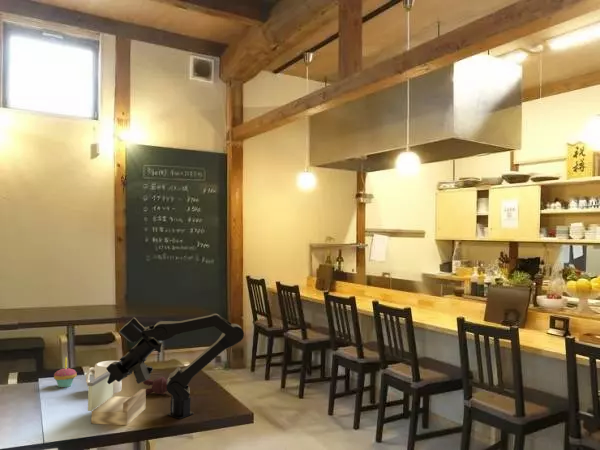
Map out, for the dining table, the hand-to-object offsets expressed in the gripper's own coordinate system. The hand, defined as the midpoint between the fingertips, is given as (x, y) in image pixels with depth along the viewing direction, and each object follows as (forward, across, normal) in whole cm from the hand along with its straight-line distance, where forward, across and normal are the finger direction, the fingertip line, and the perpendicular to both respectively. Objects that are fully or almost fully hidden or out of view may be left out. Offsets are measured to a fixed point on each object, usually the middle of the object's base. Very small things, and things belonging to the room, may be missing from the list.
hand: (108, 382), depth 172 cm
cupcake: (+31, +32, +15) cm, 46 cm away
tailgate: (+6, 0, -4) cm, 7 cm away
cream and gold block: (+5, 0, -11) cm, 12 cm away
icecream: (+1, +26, -15) cm, 30 cm away
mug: (+18, +28, +2) cm, 33 cm away
